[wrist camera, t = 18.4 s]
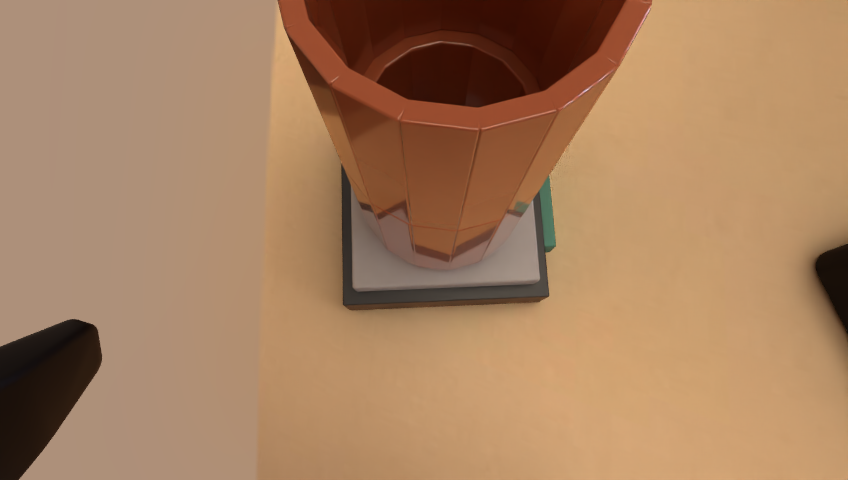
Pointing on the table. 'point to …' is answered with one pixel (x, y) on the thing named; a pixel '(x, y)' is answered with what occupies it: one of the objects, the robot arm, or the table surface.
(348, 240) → the scale
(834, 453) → the table surface
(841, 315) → the decorative sign
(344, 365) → the table surface
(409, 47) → the terracotta tube
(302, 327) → the table surface
